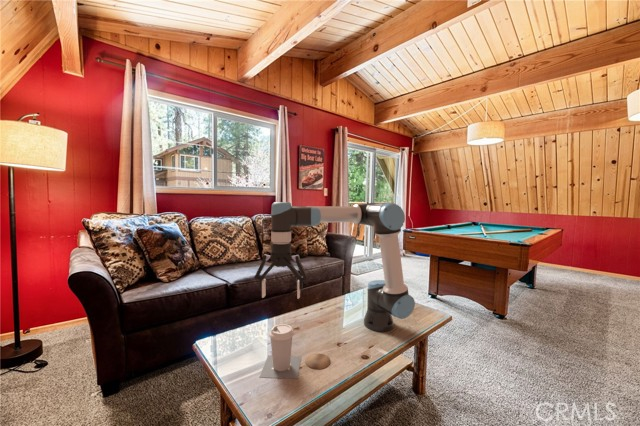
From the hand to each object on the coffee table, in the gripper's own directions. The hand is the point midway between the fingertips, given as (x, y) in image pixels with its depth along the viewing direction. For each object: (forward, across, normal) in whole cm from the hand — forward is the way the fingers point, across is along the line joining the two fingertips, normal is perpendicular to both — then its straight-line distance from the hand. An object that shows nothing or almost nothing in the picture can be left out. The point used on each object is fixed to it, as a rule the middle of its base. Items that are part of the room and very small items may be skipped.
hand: (281, 296), depth 106 cm
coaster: (+28, -14, -4) cm, 31 cm away
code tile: (+28, 0, 0) cm, 28 cm away
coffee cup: (+28, 0, 0) cm, 28 cm away
